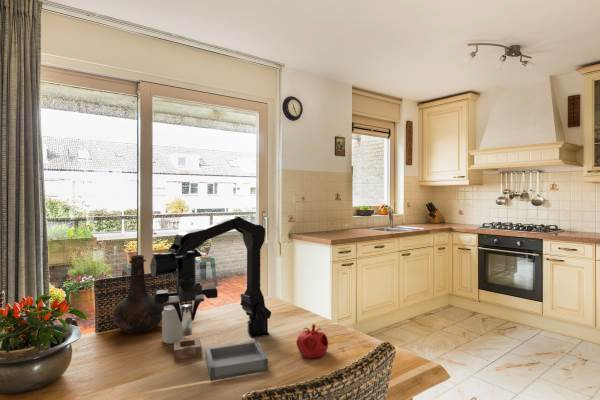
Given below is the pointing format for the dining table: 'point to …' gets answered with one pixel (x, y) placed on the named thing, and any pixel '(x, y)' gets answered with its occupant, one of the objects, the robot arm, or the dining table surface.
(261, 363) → the tray
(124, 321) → the brown vase
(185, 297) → the robot arm
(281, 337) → the dining table surface
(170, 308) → the can
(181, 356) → the socket block
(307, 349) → the pomegranate
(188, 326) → the pin
